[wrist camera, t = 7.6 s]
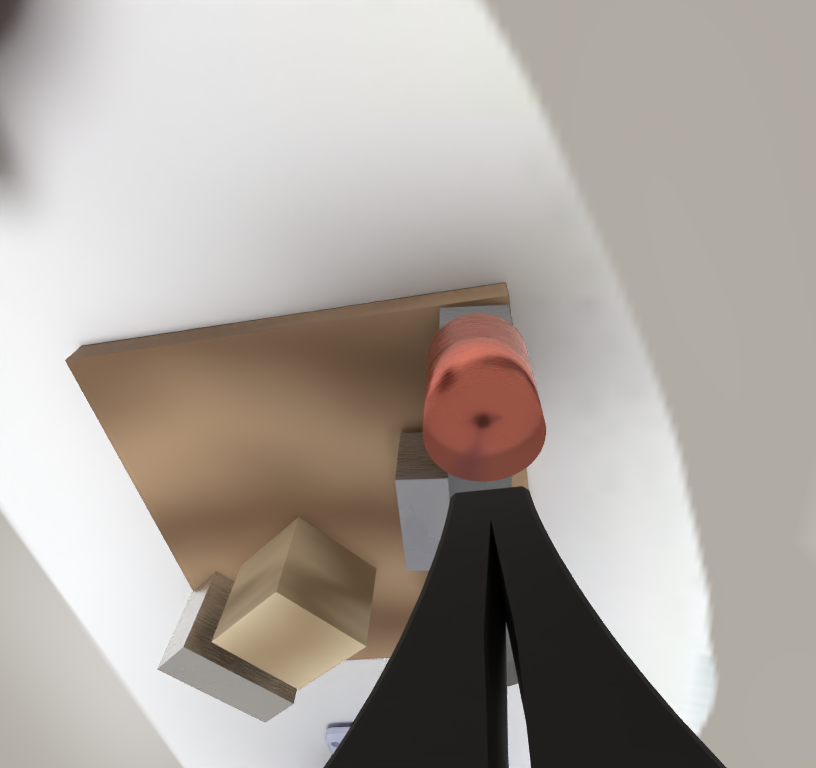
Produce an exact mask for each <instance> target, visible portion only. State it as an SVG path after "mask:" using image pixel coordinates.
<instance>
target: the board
mask: <svg viewBox="0 0 816 768" xmlns="http://www.w3.org/2000/svg"><path fill="white" fill-rule="evenodd" d="M503 304H508V305H509V310H510V303H509V294H508V290H507V286H506V283H500V284H493V285H486V286H480V287H473V288H466V289H460V290H453V291H446V292H440V293H433V294H426V295H420V296H413V297H406V298H400V299H393V300H386V301H380V302H373V303H366V304H360V305H353V306H346V307H340V308H333V309H326V310H320V311H313V312H306V313H300V314H293V315H286V316H280V317H273V318H266V319H260V320H253V321H246V322H240V323H233V324H226V325H220V326H213V327H206V328H200V329H193V330H186V331H180V332H173V333H166V334H160V335H153V336H146V337H140V338H133V339H127V340H120V341H113V342H107V343H100V344H93V345H87V346H81V347H80V348H79V349H78V350H76V351H75V352H74V353H73V354H72V355H71V356H70V357H68V358H67V359H66V360H65V361H66V363H67V365H68V366H69V368H70V370H71V372H72V374H73V375H74V377H75V379H76V381H77V383H78V384H79V386H80V388H81V390H82V392H83V393H84V395H85V397H86V399H87V401H88V402H89V404H90V406H91V408H92V410H93V411H94V413H95V415H96V417H97V419H98V420H99V422H100V424H101V426H102V428H103V429H104V431H105V433H106V435H107V437H108V438H109V440H110V442H111V444H112V446H113V447H114V449H115V451H116V453H117V455H118V456H119V458H120V460H121V462H122V464H123V465H124V467H125V469H126V471H127V473H128V474H129V476H130V478H131V480H132V482H133V483H134V485H135V487H136V489H137V491H138V492H139V494H140V496H141V498H142V500H143V501H144V503H145V505H146V507H147V509H148V510H149V512H150V514H151V516H152V518H153V519H154V521H155V523H156V525H157V527H158V528H159V530H160V532H161V534H162V536H163V537H164V539H165V541H166V543H167V545H168V546H169V548H170V550H171V552H172V554H173V555H174V557H175V559H176V561H177V563H178V564H179V566H180V568H181V570H182V572H183V573H184V575H185V577H186V579H187V581H188V582H189V584H190V586H191V588H192V590H193V591H195V590H196V589H197V588H198V587H199V586H200V585H201V584H202V583H203V582H204V581H205V580H207V579H208V578H209V577H210V576H211V575H212V574H213V573H214V572H215V571H217V572H218V573H220V574H222V575H224V576H225V577H227V578H229V579H231V580H232V581H234V582H235V579H236V577H237V574H238V572H239V569H240V566H241V565H242V564H244V563H245V562H246V561H247V560H248V559H249V558H251V557H252V556H253V555H254V554H255V553H257V552H258V551H259V550H260V549H261V548H262V547H264V546H265V545H266V544H267V543H268V542H270V541H271V540H272V539H273V538H274V537H275V536H277V535H278V534H279V533H280V532H281V531H282V530H284V529H285V528H286V527H287V526H288V525H290V524H291V523H292V522H293V521H294V520H295V519H297V518H298V517H300V518H301V519H303V520H304V521H306V522H307V523H309V524H310V525H312V526H313V527H315V528H316V529H318V530H319V531H321V532H322V533H324V534H325V535H327V536H328V537H330V538H331V539H333V540H334V541H336V542H337V543H339V544H340V545H342V546H343V547H345V548H346V549H348V550H349V551H351V552H352V553H354V554H355V555H357V556H358V557H360V558H361V559H363V560H364V561H366V562H367V563H369V564H370V565H372V566H373V567H375V568H376V576H375V584H374V592H373V599H372V607H371V615H370V622H369V630H368V638H367V645H366V647H365V648H363V649H362V650H360V651H359V652H357V653H356V654H354V655H352V656H351V657H349V658H348V659H346V660H360V659H377V658H390V657H391V655H392V653H393V651H394V649H395V647H396V645H397V643H398V641H399V639H400V637H401V635H402V633H403V631H404V629H405V626H406V624H407V622H408V620H409V618H410V615H411V613H412V611H413V609H414V606H415V604H416V602H417V600H418V598H419V595H420V593H421V590H422V588H423V585H424V583H425V580H426V577H427V575H428V572H429V570H424V571H407V570H406V563H405V555H404V547H403V539H402V531H401V524H400V516H399V508H398V500H397V492H396V485H395V475H396V467H397V458H398V449H399V441H400V433H419V432H423V421H424V404H425V387H426V370H427V355H428V349H429V346H430V343H431V341H432V339H433V337H434V336H435V334H436V333H437V332H438V331H439V325H440V308H450V307H468V306H486V305H503ZM510 314H511V313H510ZM519 486H523V487H525V488H526V489H528V480H527V470H526V468H525V469H524V470H522V471H521V472H519V473H517V474H515V475H513V476H512V487H519Z"/></svg>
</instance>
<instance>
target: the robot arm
mask: <svg viewBox="0 0 816 768" xmlns="http://www.w3.org/2000/svg"><path fill="white" fill-rule="evenodd" d="M506 624H507V629H508V634H509V639H510V644H511V649H512V654H513V659H514V664H515V669H516V674H517V679H518V684H519V689H520V694H521V699H522V704H523V709H524V714H525V719H526V725H527V734H528V743H529V752H530V761H531V768H726V767H725V766H724V765H723V764H722V762H721V761H720V760H719V759H718V758H717V757H716V756H715V755H714V754H713V753H712V752H711V751H710V750H709V749H708V747H707V746H706V745H705V744H704V743H703V742H702V741H701V740H700V739H699V738H698V737H697V736H696V734H695V733H694V732H693V731H692V730H691V729H690V728H689V727H688V726H687V725H686V724H685V723H684V722H683V721H682V719H681V718H680V717H679V716H678V715H677V714H676V713H675V712H674V710H673V709H672V708H671V707H670V706H669V705H668V703H667V702H666V701H665V700H664V699H663V698H662V696H661V695H660V694H659V693H658V692H657V690H656V689H655V688H654V687H653V686H652V685H651V683H650V682H649V681H648V680H647V679H646V677H645V676H644V675H643V674H642V672H641V671H640V670H639V669H638V667H637V666H636V665H635V664H634V662H633V661H632V660H631V659H630V657H629V656H628V655H627V654H626V652H625V651H624V650H623V648H622V647H621V646H620V645H619V643H618V642H617V641H616V639H615V638H614V637H613V635H612V634H611V633H610V631H609V630H608V628H607V627H606V626H605V624H604V623H603V621H602V620H601V619H600V617H599V616H598V614H597V613H596V611H595V610H594V609H593V607H592V606H591V604H590V603H589V602H588V600H587V598H586V597H585V595H584V594H583V592H582V591H581V589H580V588H579V586H578V585H577V583H576V582H575V580H574V578H573V577H572V575H571V574H570V572H569V570H568V569H567V567H566V565H565V564H564V562H563V561H562V559H561V557H560V556H559V554H558V552H557V550H556V549H555V547H554V545H553V543H552V541H551V539H550V538H549V536H548V534H547V532H546V530H545V528H544V526H543V524H542V522H541V520H540V518H539V515H538V513H537V511H536V509H535V506H534V503H533V501H532V498H531V495H530V491H529V490H528V489H526V488H525V487H523V486H519V487H509V488H499V489H489V490H479V491H469V492H459V493H455V494H454V495H453V496H452V497H451V498H450V502H449V508H448V512H447V517H446V521H445V525H444V528H443V532H442V535H441V538H440V541H439V544H438V547H437V550H436V553H435V556H434V559H433V562H432V564H431V567H430V569H429V572H428V575H427V577H426V580H425V583H424V585H423V588H422V590H421V593H420V595H419V598H418V600H417V602H416V604H415V606H414V609H413V611H412V613H411V615H410V618H409V620H408V622H407V624H406V626H405V629H404V631H403V633H402V635H401V637H400V639H399V641H398V643H397V645H396V647H395V649H394V651H393V653H392V655H391V657H390V659H389V661H388V663H387V665H386V667H385V668H384V670H383V672H382V674H381V676H380V678H379V679H378V681H377V683H376V685H375V687H374V688H373V690H372V692H371V694H370V695H369V697H368V699H367V700H366V702H365V704H364V705H363V707H362V709H361V710H360V712H359V713H358V715H357V717H356V718H355V720H354V722H353V723H352V725H351V727H333V728H329V729H327V730H326V733H325V740H326V742H327V744H328V746H329V748H330V750H331V753H332V756H331V758H330V759H329V761H328V762H327V763H326V765H325V766H324V768H509V765H508V729H507V651H506Z"/></svg>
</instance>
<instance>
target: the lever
mask: <svg viewBox="0 0 816 768" xmlns="http://www.w3.org/2000/svg"><path fill="white" fill-rule="evenodd" d="M545 436H546V425H545V420H544V416H543V412H542V408H541V404H540V400H539V396H538V392H537V388H536V384H535V380H534V376H533V372H532V368H531V364H530V360H529V356H528V352H527V348H526V345H525V342H524V339H523V338H522V336H521V334H520V333H519V332H518V330H517V329H516V328H515V327H514V326H513V323H512V318H511V314H510V310H509V305H508V304H503V305H486V306H468V307H450V308H440V325H439V331H438V332H437V333H436V334H435V336H434V337H433V339H432V341H431V343H430V346H429V349H428V355H427V370H426V387H425V404H424V421H423V432H419V433H400V441H399V449H398V458H397V467H396V475H395V485H396V492H397V500H398V508H399V516H400V524H401V531H402V539H403V547H404V555H405V563H406V570H407V571H424V570H429V569H430V567H431V564H432V562H433V559H434V556H435V553H436V550H437V547H438V544H439V541H440V538H441V535H442V532H443V528H444V525H445V521H446V517H447V512H448V508H449V502H450V498H451V497H452V496H453V495H454V494H455V493H459V492H469V491H479V490H489V489H499V488H509V487H512V476H513V475H515V474H517V473H519V472H521V471H522V470H524V469H525V468H526V467H528V466H529V465H530V464H531V463H532V462H533V461H534V460H535V459H536V458H537V456H538V455H539V453H540V452H541V449H542V447H543V445H544V441H545ZM506 651H507V686H511V685H514V684H517V683H518V679H517V674H516V669H515V664H514V659H513V654H512V649H511V644H510V639H509V634H508V629H507V624H506Z"/></svg>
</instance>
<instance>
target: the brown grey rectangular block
mask: <svg viewBox="0 0 816 768" xmlns="http://www.w3.org/2000/svg"><path fill="white" fill-rule="evenodd" d="M233 585H234V581H232V580H231V579H229V578H227V577H225V576H224V575H222V574H220V573H218V572H217V571H215V572H214V573H213V574H212V575H211V576H210V577H209V578H208V579H207V580H205V581H204V582H203V583H202V584H201V585H200V586H199V587H198V588H197V589H196V590H195V591H194V592H192V594H191V596H190V598H189V600H188V602H187V605H186V607H185V609H184V611H183V614H182V616H181V618H180V620H179V622H178V625H177V627H176V629H175V631H174V633H173V636H172V638H171V640H170V642H169V644H168V647H167V649H166V651H165V653H164V655H163V658H162V660H161V662H160V664H159V667H158V670H160V671H162V672H164V673H166V674H168V675H170V676H172V677H174V678H176V679H178V680H180V681H182V682H184V683H186V684H188V685H190V686H192V687H194V688H196V689H198V690H200V691H202V692H204V693H206V694H208V695H210V696H212V697H214V698H216V699H219V700H221V701H223V702H225V703H227V704H229V705H231V706H233V707H235V708H237V709H239V710H241V711H243V712H245V713H247V714H249V715H251V716H253V717H255V718H257V719H259V720H261V721H263V722H267V721H268V720H270V719H271V718H273V717H274V716H276V715H277V714H279V713H280V712H282V711H283V710H285V709H286V708H288V707H289V706H291V705H292V704H294V699H295V695H296V691H297V689H296V688H294V687H293V686H291V685H289V684H287V683H285V682H284V681H282V680H280V679H278V678H276V677H274V676H273V675H271V674H269V673H267V672H265V671H263V670H262V669H260V668H258V667H256V666H254V665H252V664H251V663H249V662H247V661H245V660H243V659H242V658H240V657H238V656H236V655H234V654H232V653H231V652H229V651H227V650H225V649H223V648H221V647H220V646H218V645H216V644H214V643H212V639H213V637H214V634H215V631H216V629H217V626H218V624H219V621H220V618H221V616H222V613H223V611H224V608H225V605H226V603H227V600H228V598H229V595H230V592H231V590H232V587H233Z"/></svg>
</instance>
